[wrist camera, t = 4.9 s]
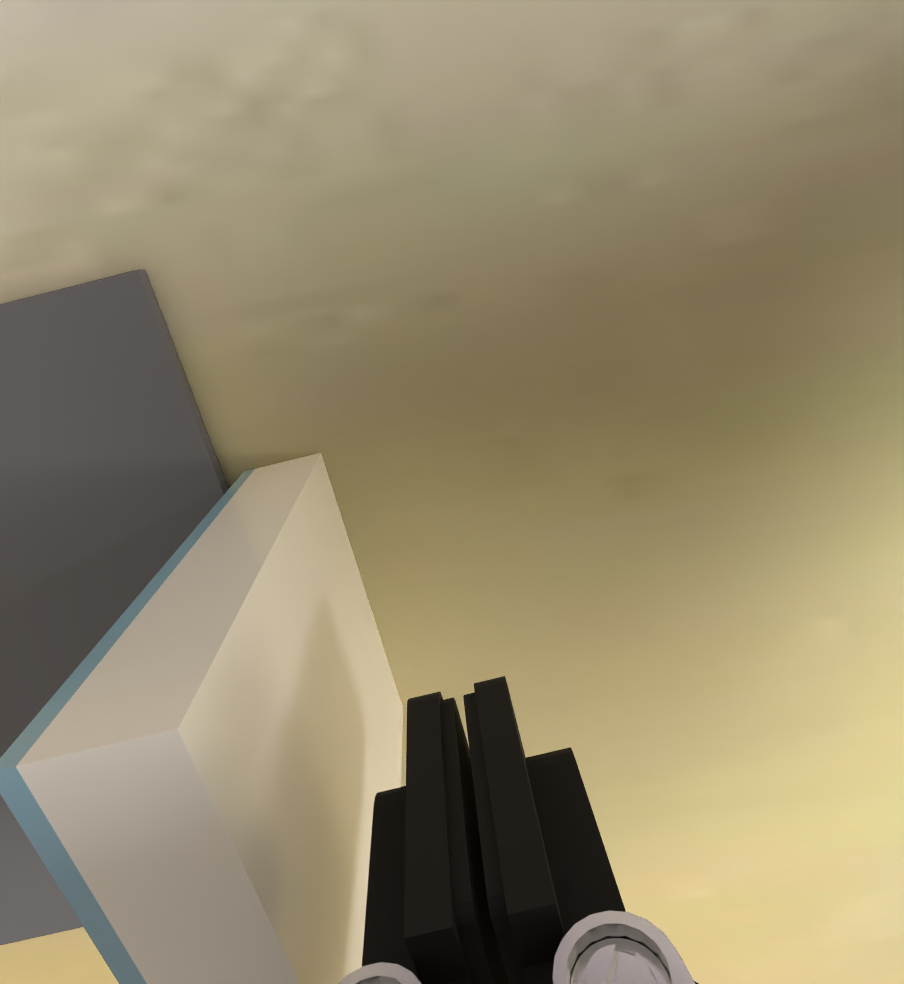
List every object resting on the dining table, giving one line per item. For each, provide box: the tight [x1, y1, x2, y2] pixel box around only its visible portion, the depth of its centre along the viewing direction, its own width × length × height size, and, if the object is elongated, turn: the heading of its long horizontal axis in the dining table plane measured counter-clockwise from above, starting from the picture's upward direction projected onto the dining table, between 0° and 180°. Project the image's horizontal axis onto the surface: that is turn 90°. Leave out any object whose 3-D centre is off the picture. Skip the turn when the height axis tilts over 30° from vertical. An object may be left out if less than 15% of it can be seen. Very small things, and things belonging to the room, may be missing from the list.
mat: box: [0, 270, 228, 945], centre depth 17 cm, size 13×18×1 cm
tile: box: [0, 453, 403, 984], centre depth 12 cm, size 2×8×10 cm, turn 13°
